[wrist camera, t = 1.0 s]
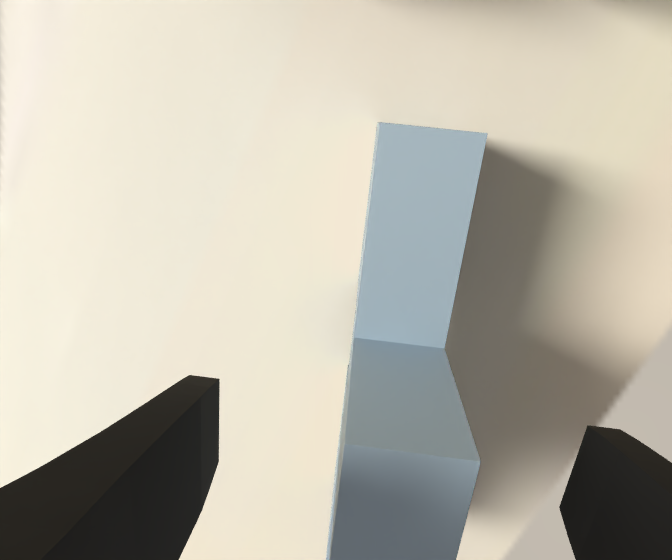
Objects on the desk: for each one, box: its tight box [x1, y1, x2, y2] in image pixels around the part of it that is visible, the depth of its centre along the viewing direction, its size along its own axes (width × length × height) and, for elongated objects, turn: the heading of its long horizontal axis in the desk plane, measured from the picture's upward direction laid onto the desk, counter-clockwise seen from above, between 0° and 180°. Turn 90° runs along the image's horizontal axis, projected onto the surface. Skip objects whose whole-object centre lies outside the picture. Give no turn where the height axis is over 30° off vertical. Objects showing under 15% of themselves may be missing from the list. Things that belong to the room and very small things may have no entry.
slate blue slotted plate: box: [326, 122, 488, 560], centre depth 11 cm, size 12×2×8 cm, turn 174°
